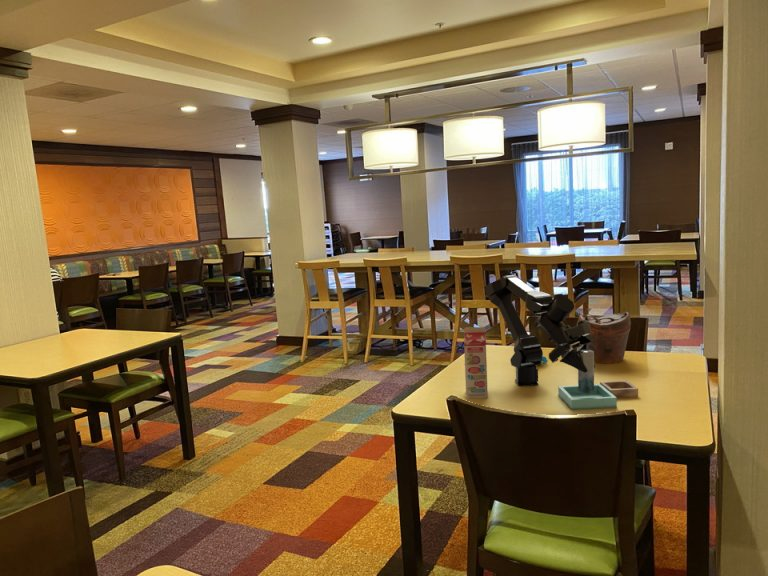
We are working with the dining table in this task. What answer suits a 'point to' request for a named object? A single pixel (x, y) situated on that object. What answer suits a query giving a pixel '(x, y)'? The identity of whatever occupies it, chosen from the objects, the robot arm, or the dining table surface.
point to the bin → (587, 398)
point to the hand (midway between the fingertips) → (590, 369)
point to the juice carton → (475, 362)
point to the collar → (621, 388)
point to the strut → (586, 378)
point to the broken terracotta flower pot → (608, 336)
